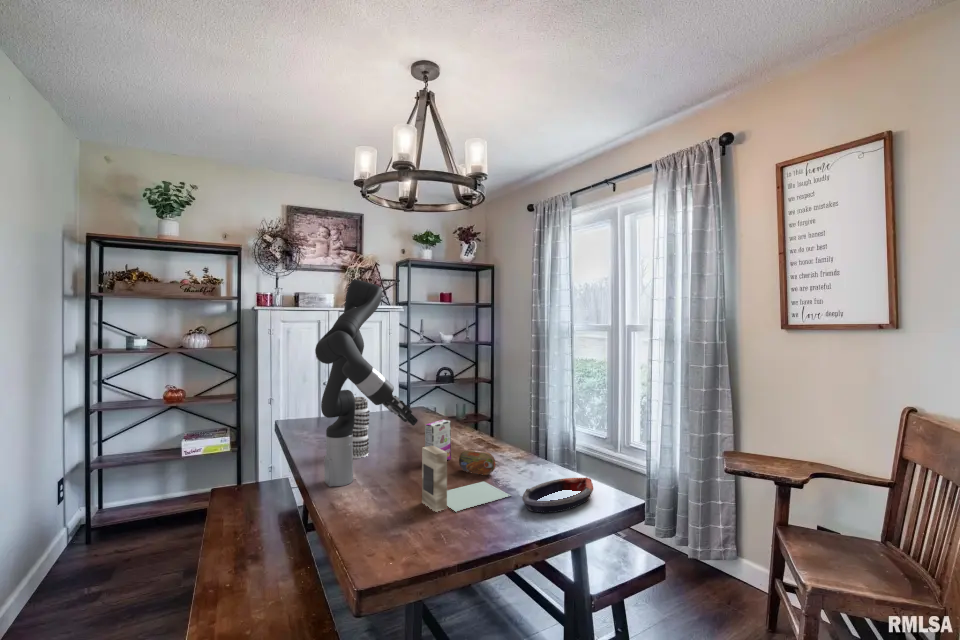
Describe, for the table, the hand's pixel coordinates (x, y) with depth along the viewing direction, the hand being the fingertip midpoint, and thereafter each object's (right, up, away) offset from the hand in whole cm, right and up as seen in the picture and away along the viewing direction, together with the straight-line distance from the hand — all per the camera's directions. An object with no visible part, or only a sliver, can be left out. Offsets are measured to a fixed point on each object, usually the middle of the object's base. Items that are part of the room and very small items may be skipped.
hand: (411, 421), depth 141 cm
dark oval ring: (+48, -29, +9) cm, 56 cm away
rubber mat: (+18, -28, +13) cm, 36 cm away
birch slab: (+7, -28, +5) cm, 29 cm away
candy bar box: (+4, -28, +49) cm, 57 cm away
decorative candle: (-31, -28, +58) cm, 71 cm away
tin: (+20, -28, +36) cm, 50 cm away
